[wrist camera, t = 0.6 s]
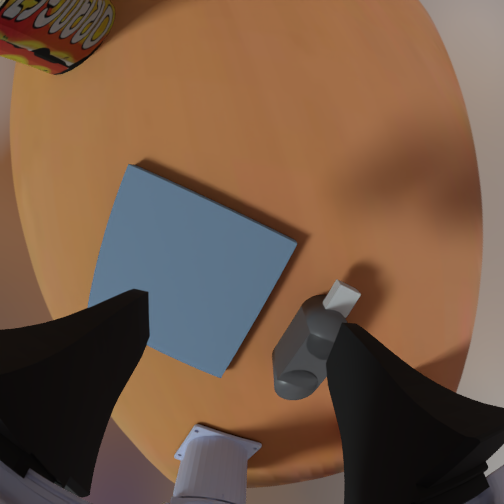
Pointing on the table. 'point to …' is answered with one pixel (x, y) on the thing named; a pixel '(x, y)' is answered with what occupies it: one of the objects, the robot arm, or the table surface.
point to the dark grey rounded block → (311, 342)
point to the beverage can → (53, 31)
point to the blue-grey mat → (188, 267)
